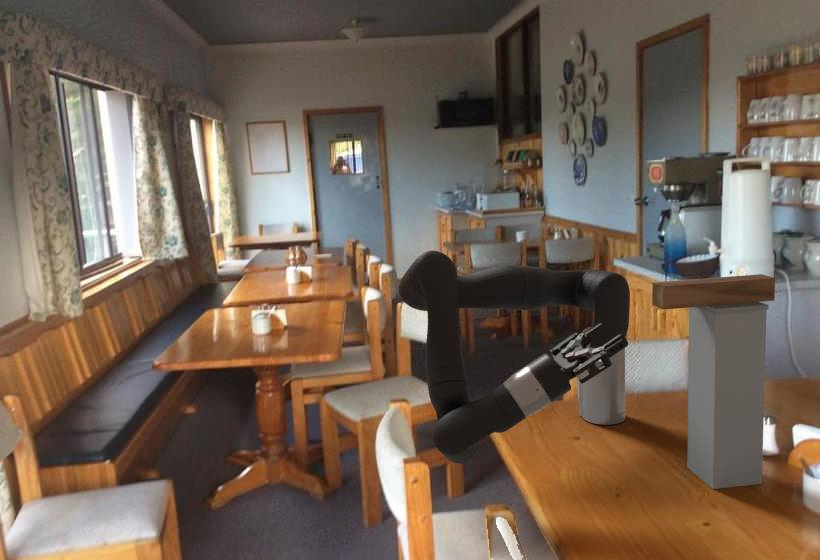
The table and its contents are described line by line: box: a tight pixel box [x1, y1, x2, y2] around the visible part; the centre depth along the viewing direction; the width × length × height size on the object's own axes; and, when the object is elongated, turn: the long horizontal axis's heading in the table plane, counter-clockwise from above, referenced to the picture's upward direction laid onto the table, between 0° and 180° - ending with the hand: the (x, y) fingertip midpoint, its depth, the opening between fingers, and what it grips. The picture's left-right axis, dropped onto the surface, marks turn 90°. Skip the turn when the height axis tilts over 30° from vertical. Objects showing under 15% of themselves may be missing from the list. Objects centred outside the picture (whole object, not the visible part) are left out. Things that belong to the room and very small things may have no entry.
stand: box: [686, 302, 769, 490], centre depth 127 cm, size 9×9×32 cm
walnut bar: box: [651, 273, 776, 311], centre depth 123 cm, size 4×20×4 cm, turn 96°
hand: (615, 332), depth 123 cm, fingers open, 8 cm apart
